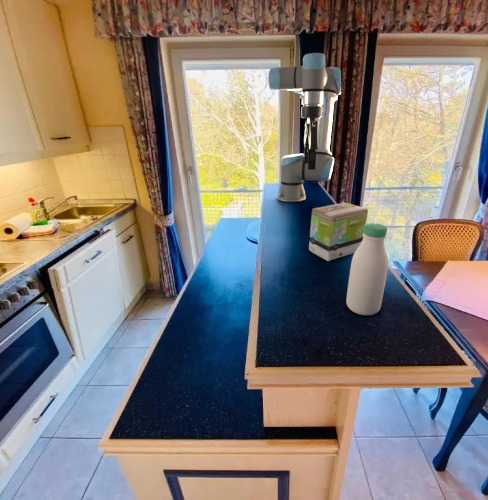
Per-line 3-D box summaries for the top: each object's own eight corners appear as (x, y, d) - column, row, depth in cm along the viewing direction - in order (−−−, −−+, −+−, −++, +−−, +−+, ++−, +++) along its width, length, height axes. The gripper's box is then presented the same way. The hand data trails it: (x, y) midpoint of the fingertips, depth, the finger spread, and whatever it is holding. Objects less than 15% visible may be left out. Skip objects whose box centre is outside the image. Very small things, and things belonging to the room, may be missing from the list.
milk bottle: (382, 318, 62) (400, 234, 53) (347, 314, 63) (358, 232, 54) (377, 298, 69) (391, 220, 60) (344, 295, 70) (354, 219, 61)
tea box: (329, 262, 85) (333, 216, 79) (308, 251, 93) (310, 208, 87) (362, 251, 93) (369, 208, 86) (340, 241, 100) (345, 200, 94)
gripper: (298, 106, 112) (296, 161, 121) (305, 105, 89) (303, 172, 99) (317, 106, 112) (314, 161, 121) (329, 104, 89) (324, 172, 99)
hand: (309, 166), depth 110 cm, fingers open, 13 cm apart
